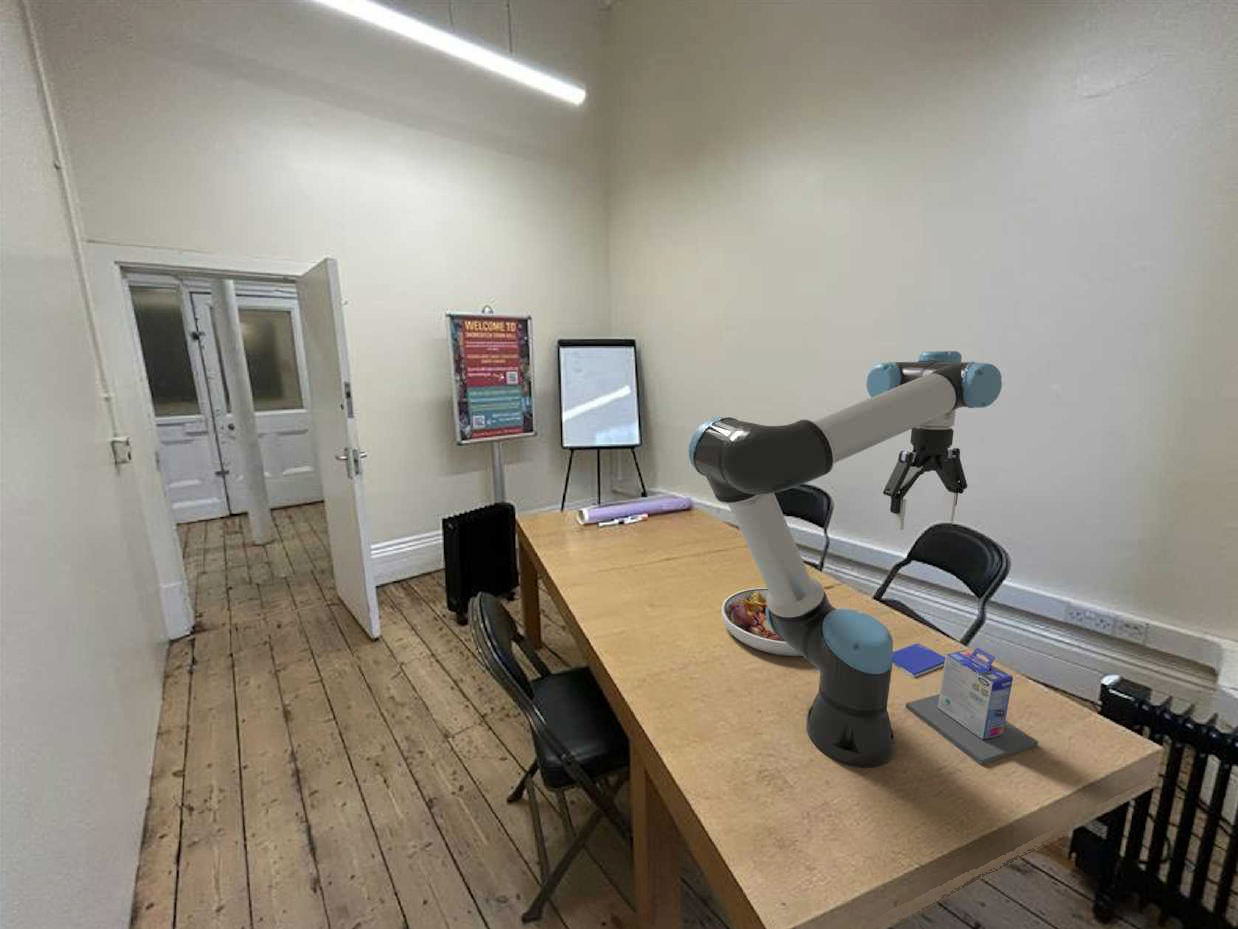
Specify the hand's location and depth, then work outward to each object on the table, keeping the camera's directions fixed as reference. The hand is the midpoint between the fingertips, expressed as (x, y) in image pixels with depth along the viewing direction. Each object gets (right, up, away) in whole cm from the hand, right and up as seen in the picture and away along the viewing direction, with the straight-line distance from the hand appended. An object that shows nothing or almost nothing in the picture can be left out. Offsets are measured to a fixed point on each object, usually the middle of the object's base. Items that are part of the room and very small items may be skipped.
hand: (922, 524), depth 111 cm
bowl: (-23, -31, +25) cm, 46 cm away
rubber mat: (+2, -38, -11) cm, 40 cm away
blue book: (+4, -34, +10) cm, 36 cm away
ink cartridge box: (+3, -37, -11) cm, 39 cm away
